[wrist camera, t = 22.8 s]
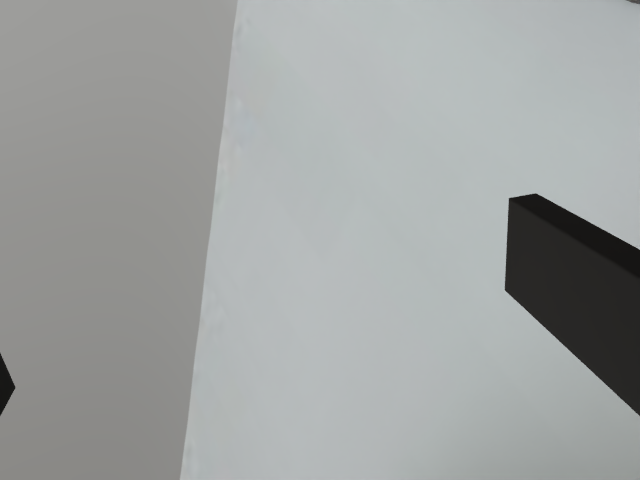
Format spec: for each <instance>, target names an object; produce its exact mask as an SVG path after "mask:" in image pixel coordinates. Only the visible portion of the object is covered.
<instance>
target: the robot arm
mask: <svg viewBox="0 0 640 480" xmlns="http://www.w3.org/2000/svg"><path fill="white" fill-rule="evenodd" d="M627 1H630V2H633V3H637V4H640V0H627ZM505 291H506V292H508V293H509V294H510V295H511V296H512V297H513V298H514V299H515V300H516V301H517V302H518V303H519V304H520V305H521V306H523V307H524V308H525V309H526V310H527V311H528V312H529V313H530V314H531V315H532V316H533V317H534V318H535V319H536V320H538V321H539V322H540V323H541V324H542V325H543V326H544V327H545V328H546V329H547V330H548V331H549V332H550V333H551V334H553V335H554V336H555V337H556V338H557V339H558V340H559V341H560V342H561V343H562V344H563V345H564V346H565V347H566V348H568V349H569V350H570V351H571V352H572V353H573V354H574V355H575V356H576V357H577V358H578V359H579V360H580V361H581V362H583V363H584V364H585V365H586V366H587V367H588V368H589V369H590V370H591V371H592V372H593V373H594V374H595V375H596V376H598V377H599V378H600V379H601V380H602V381H603V382H604V383H605V384H606V385H607V386H608V387H609V388H610V389H612V390H613V391H614V392H615V393H616V394H617V395H618V396H619V397H620V398H621V399H622V400H623V401H624V402H625V403H627V404H628V405H629V406H630V407H631V408H632V409H633V410H634V411H635V412H636V413H637V414H638V415H639V416H640V250H639V249H637V248H636V247H634V246H632V245H630V244H628V243H626V242H625V241H623V240H621V239H619V238H617V237H615V236H614V235H612V234H610V233H608V232H606V231H604V230H602V229H601V228H599V227H597V226H595V225H593V224H591V223H590V222H588V221H586V220H584V219H582V218H580V217H579V216H577V215H575V214H573V213H571V212H569V211H568V210H566V209H564V208H562V207H560V206H558V205H556V204H555V203H553V202H551V201H549V200H547V199H545V198H544V197H542V196H540V195H538V194H530V195H525V196H519V197H513V198H509V210H508V232H507V254H506V277H505ZM14 389H15V385H14V383H13V381H12V379H11V376H10V374H9V372H8V370H7V368H6V365H5V363H4V361H3V359H2V356H1V354H0V415H1V414H2V412H3V410H4V408H5V406H6V404H7V402H8V400H9V399H10V397H11V395H12V393H13V391H14Z"/></svg>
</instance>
